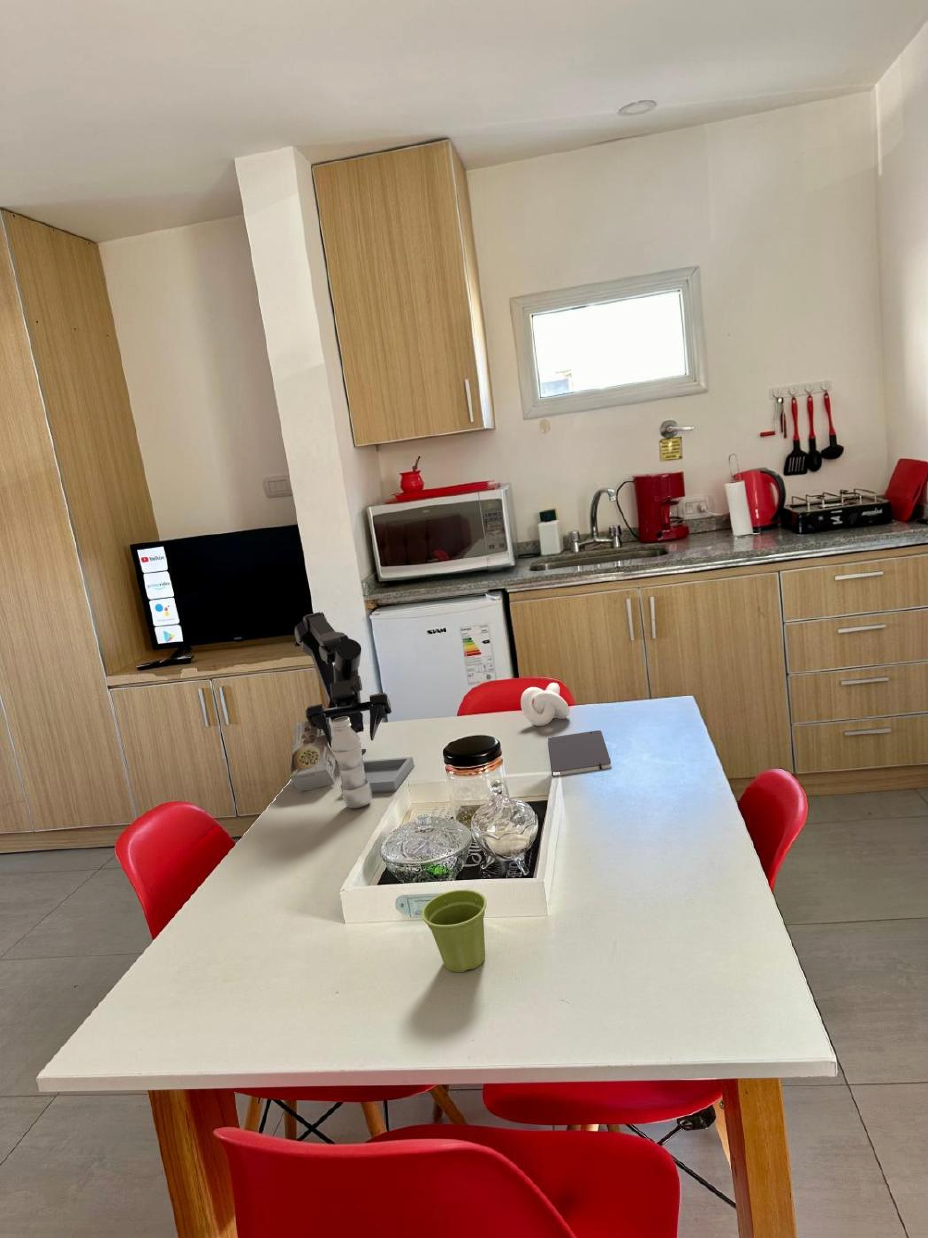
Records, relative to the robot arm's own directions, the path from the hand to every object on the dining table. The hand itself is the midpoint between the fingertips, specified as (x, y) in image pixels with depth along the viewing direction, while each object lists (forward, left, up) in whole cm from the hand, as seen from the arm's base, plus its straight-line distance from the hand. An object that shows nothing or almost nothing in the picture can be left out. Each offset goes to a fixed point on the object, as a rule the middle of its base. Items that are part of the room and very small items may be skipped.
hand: (351, 743), depth 191 cm
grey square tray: (-8, +1, -12) cm, 15 cm away
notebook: (-15, +47, -13) cm, 51 cm away
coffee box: (-3, -13, -10) cm, 17 cm away
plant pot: (+61, +39, -13) cm, 74 cm away
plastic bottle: (+5, +1, -13) cm, 14 cm away
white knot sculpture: (-39, +37, -13) cm, 55 cm away
